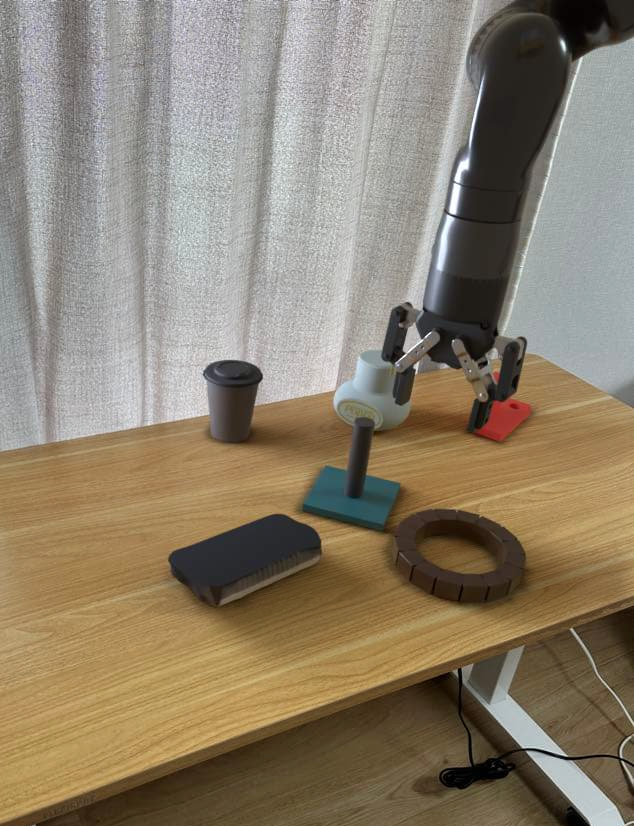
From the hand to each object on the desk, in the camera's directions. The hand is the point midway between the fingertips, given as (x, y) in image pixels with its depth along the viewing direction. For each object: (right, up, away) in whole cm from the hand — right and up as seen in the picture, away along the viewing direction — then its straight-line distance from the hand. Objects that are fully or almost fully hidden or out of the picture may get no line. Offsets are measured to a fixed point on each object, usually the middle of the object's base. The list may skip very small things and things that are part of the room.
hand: (436, 415), depth 86 cm
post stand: (-7, -8, +15) cm, 18 cm away
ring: (+4, -16, +6) cm, 17 cm away
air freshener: (-2, +4, +32) cm, 32 cm away
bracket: (+18, +4, +34) cm, 39 cm away
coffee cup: (-22, +2, +27) cm, 35 cm away
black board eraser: (-20, -17, +3) cm, 27 cm away
